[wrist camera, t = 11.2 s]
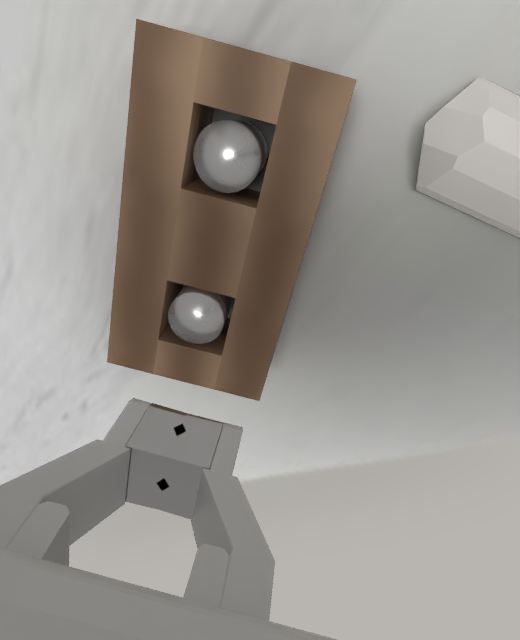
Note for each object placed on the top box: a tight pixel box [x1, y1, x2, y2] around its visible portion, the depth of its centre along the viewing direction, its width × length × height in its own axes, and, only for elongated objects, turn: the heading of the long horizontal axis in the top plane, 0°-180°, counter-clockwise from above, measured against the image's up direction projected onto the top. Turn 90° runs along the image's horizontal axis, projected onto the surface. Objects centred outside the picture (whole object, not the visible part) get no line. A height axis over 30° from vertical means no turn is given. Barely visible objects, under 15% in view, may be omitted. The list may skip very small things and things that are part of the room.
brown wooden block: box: [107, 19, 356, 401], centre depth 29 cm, size 12×22×6 cm, turn 166°
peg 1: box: [193, 120, 268, 193], centre depth 27 cm, size 4×4×6 cm
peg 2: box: [168, 285, 234, 344], centre depth 32 cm, size 4×4×6 cm
